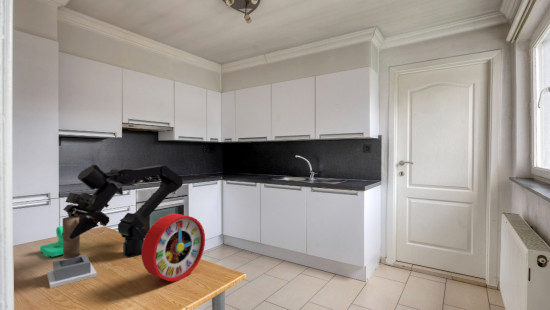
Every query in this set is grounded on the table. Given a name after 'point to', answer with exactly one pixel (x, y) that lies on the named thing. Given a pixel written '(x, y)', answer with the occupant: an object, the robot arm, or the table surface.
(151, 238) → the toy clock
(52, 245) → the camera mount
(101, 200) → the robot arm
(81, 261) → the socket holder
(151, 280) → the table surface
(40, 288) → the table surface
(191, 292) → the table surface
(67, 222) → the walnut peg
